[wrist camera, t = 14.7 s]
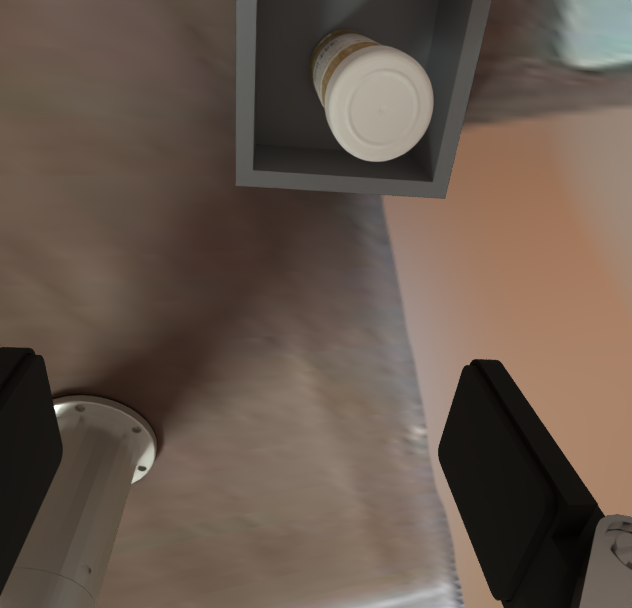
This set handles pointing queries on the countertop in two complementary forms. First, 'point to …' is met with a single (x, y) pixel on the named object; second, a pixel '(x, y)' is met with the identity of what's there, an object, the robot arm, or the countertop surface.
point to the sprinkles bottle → (371, 95)
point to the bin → (309, 114)
